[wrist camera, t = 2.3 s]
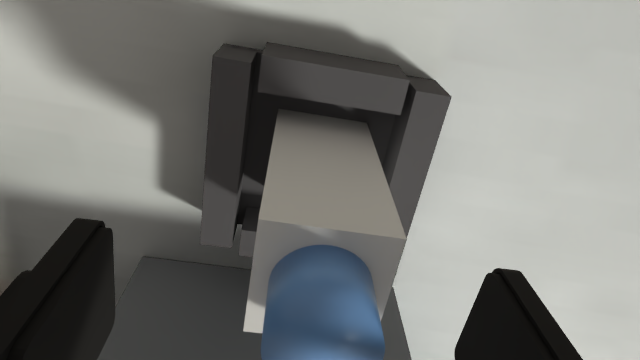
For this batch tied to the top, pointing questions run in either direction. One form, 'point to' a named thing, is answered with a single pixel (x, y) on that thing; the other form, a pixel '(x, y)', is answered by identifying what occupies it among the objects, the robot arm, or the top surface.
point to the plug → (323, 243)
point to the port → (201, 316)
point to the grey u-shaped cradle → (314, 98)
